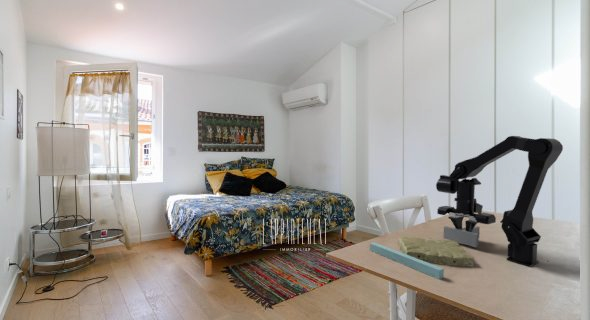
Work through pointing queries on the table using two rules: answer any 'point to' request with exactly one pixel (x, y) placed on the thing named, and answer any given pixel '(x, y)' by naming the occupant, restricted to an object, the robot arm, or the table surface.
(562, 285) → the table surface
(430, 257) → the decorative tile
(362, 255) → the table surface
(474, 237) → the grey piece
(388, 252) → the bar
